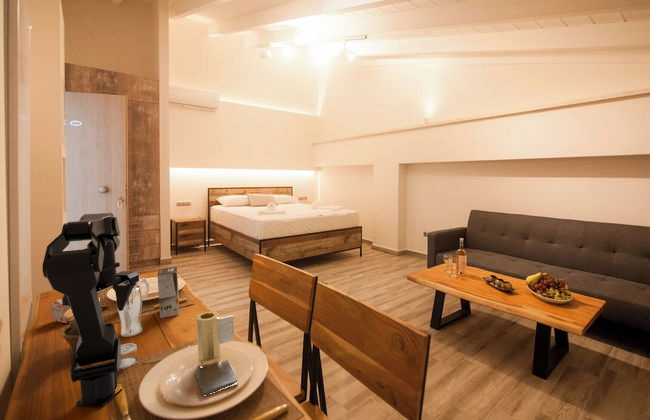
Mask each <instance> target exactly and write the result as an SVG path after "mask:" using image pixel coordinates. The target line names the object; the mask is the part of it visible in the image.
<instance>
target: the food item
mask: <svg viewBox="0 0 650 420" xmlns="http://www.w3.org/2000/svg"><path fill="white" fill-rule="evenodd" d="M98 295H99V297H100V302H99V304H100V307H102V308H103V302H102V297H101V292H100V293H98ZM70 308H71V307H69V306H63V303H62V298H59V299H56V300H54V303H53V304H51V305H50V309H51V317H52V318H53V319H54V320H55V321H56V322H58V323H60V322H69V320H70V318H66V317H64V313H65V312H66V311H67V310H68V309H70ZM69 323H70V322H69Z"/></svg>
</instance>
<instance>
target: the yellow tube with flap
mask: <svg viewBox="0 0 650 420" xmlns="http://www.w3.org/2000/svg"><path fill="white" fill-rule="evenodd" d="M219 315H220V314H219V313H218V312H217V311H204V312H201V313H199V314H198V315H197V316H196V317H195V320H196V337H197V338H196V339H197V341H196V342H197V356H198V357H199V360H202V361H210V360H213V359H215V358H217V357H218V356H219V355H220V354H221V344H225V343H229V342H232V341H235V323H234V320H235V319H234V315H233V314H231V315H226V316H222V317H219ZM199 360H198V361H199Z"/></svg>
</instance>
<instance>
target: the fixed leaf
mask: <svg viewBox="0 0 650 420" xmlns="http://www.w3.org/2000/svg"><path fill="white" fill-rule="evenodd" d="M221 357H222V355H221V353H220V355H219V356H218V357H217V358H215V359H213V360H210V361H202V360H199V357H198V366H199V365H200V366H202V367H203V368H197V369H195V374H196V373H197V376H198V379H197V381H198V380H199V382H198V384H199V383H200V385H199V387H200V386H201V388H200V390H201V389H202V391H201V394H202V393H203V395H202V397H203V396H204V395H208V394H210V393H213V392H216V391H218V390H220V389H222V388H225V387H227V386H230V385H232V384H234V383H235V382H237V381H238V382H239V380H238V378H237V376H236V374H235V371H234V370H233V368H232V365H231V364H230V362H229V360H228V359H227V360H223V361H222V358H221ZM220 361H221V362H220ZM197 376H196V377H197ZM216 393H217V392H216ZM208 396H209V395H208Z"/></svg>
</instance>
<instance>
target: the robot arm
mask: <svg viewBox="0 0 650 420" xmlns="http://www.w3.org/2000/svg"><path fill="white" fill-rule="evenodd" d="M62 225H63V226H62V227H61V233H60V234H59V235H57V236H56V237H55V238H54V240H52V241H51V242H50V243H49V244H48V245H47V246H46V249H45V254H44V257H43V262H42V267H41V269H42V270H41V271H42V275H43V278H45V279H47V281H48V283H49V285H50V287H51V289H52V290H54V291H56V292H58V293H60V294H63V295H62V297H61V299H62V303H63V306H69V307H71V310H72V313H73V316H74V319H75V320H74V322H75V325H76V327H77V331H78V334H79V336H78V339H77V343H76V345H75V347H74V350H73V352H72V354H71V360H70V361H71V363H70V380H71V381H72V383H76V382H79V383H80V393H81V394H80V395H81V398H79V400H78V401H76V402H75V406H78V407H89V408H90V407H91V408H103V407H104V406H105V405H106V404H108V403H109V402H110V401H111V400H112V399H113V398H114V397H115V396H116V395H115V389H116V387H117V386H118V376H117V375H118V374H117V373H118V372H119V371H120V369H119V367H120V363H121V358H122V356H121V345H122V343H121V338H120V337H118V336H117V332H116V328H115V324H114V323H112V322H109V323H105V320H104V317H103V313H102V312H103V311H101V308H100V304H99V300H98V296H97V294H98V293H100V294H101V293H103V292H105V291H107V290H109V289H113V291H114V292H115V298H116V300H117V301H116V308H117V307H118V309H117V311H118V310H119V311H122V310H123V309H124V307H125V304H126V302H127V300H128V298H129V296H130V294H131V292H132V290H133V288H134V286H135V285H136V282H138V281H139V277H140V274H139V273H138V272H137V271H130V270H129V271H128V270H126V271H125V270H122V271H120V272H117V268H119V267H120V266H121V264H120V262H116V261H117V260H116V251H117V250H118V249H119V247H120V244H121V240H120V238H119V236H120V235H121V232H120V228H119V222H118V218H117V216H114V213H112V212H103V213H102V212H101V213H84V214H83V215H82V216H81V217H80V219H79V220H77V221H68V222H66V223H64V224H62ZM80 241H89V242H88V243H87V244H86V245H87V246H86V248H85V249H72V250H65V249H66V248H67V247H68V246H69V245H70V242H80ZM93 364H94V365H93ZM84 366H85V367H84ZM121 386H122V385H121ZM122 388H123V389H124V387H123V386H122Z"/></svg>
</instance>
